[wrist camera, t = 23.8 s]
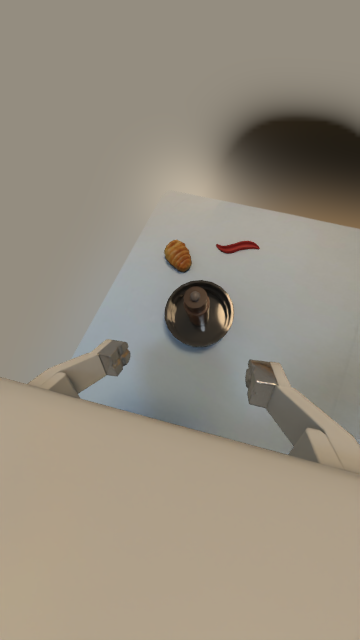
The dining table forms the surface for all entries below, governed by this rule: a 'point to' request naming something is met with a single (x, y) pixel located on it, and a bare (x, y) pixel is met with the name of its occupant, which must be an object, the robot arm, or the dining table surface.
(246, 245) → the cayenne pepper
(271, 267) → the dining table surface
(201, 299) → the pepper mill
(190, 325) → the pan
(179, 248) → the pastry
